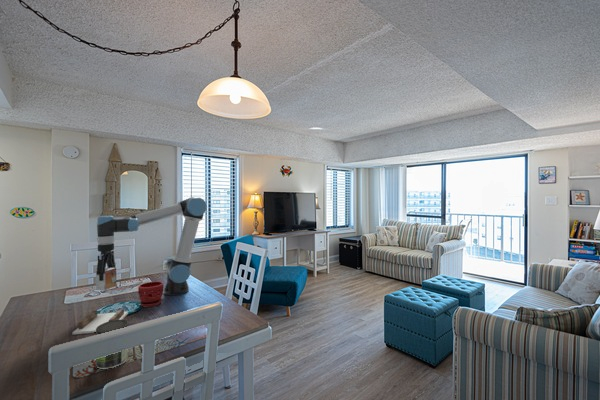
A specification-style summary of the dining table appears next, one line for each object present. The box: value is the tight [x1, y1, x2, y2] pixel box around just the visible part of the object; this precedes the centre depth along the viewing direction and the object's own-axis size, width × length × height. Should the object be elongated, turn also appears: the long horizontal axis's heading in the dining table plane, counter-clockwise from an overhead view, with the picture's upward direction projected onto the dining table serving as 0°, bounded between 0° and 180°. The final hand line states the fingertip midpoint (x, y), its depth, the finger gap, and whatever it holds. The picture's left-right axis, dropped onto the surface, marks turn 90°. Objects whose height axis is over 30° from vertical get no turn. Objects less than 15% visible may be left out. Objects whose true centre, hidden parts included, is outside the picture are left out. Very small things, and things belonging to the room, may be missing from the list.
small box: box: [95, 267, 117, 291], centre depth 154 cm, size 8×6×10 cm
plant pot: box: [137, 281, 164, 308], centre depth 163 cm, size 13×13×12 cm
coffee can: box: [95, 319, 129, 370], centre depth 106 cm, size 10×10×14 cm
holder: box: [72, 308, 129, 336], centre depth 138 cm, size 20×16×4 cm
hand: (106, 283), depth 154 cm, fingers closed on small box, 9 cm apart
